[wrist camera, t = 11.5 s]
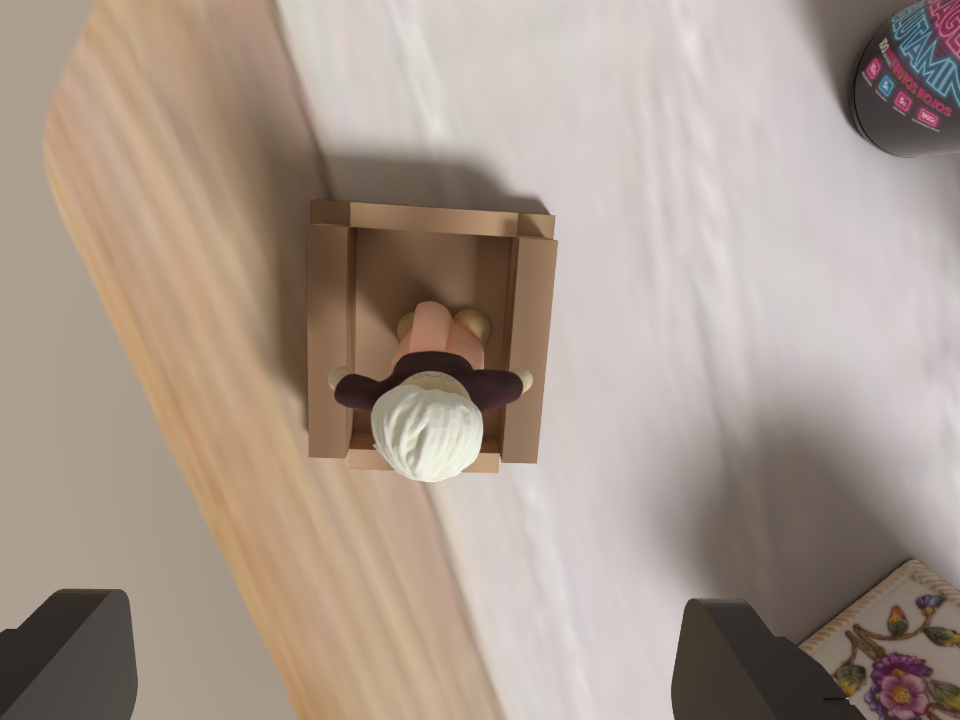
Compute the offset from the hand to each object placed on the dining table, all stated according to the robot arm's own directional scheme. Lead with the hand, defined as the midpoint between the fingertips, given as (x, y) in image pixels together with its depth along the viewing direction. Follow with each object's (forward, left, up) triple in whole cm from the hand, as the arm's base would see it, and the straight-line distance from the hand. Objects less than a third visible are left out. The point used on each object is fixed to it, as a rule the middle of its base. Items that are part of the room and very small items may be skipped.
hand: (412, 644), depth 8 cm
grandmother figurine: (0, 0, -20) cm, 20 cm away
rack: (0, 0, -21) cm, 21 cm away
